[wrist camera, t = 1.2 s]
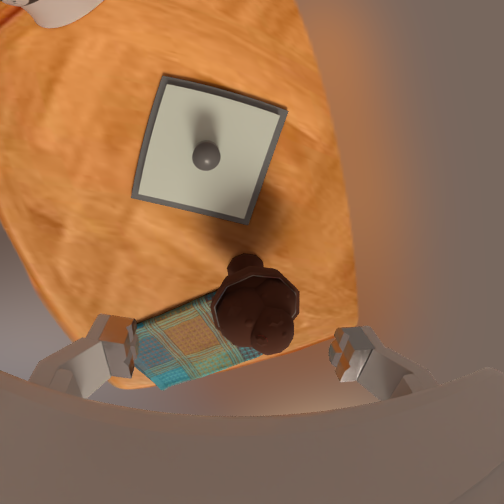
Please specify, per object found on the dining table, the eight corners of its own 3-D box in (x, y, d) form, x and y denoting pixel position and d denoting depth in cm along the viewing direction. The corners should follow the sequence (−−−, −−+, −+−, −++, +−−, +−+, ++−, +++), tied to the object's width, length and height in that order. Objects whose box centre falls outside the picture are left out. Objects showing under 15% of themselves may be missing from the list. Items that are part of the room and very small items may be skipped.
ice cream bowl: (279, 230, 39) (316, 292, 26) (282, 293, 44) (311, 364, 31) (203, 241, 38) (204, 312, 25) (216, 305, 43) (224, 381, 30)
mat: (163, 76, 27) (162, 75, 27) (287, 111, 31) (288, 111, 31) (132, 196, 33) (131, 197, 33) (247, 223, 38) (248, 225, 37)
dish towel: (108, 332, 44) (105, 342, 42) (222, 283, 42) (223, 293, 40) (161, 384, 52) (161, 393, 50) (263, 348, 51) (265, 358, 49)
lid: (167, 84, 27) (161, 79, 23) (278, 115, 31) (289, 115, 27) (139, 192, 33) (130, 203, 29) (243, 216, 37) (248, 231, 33)
